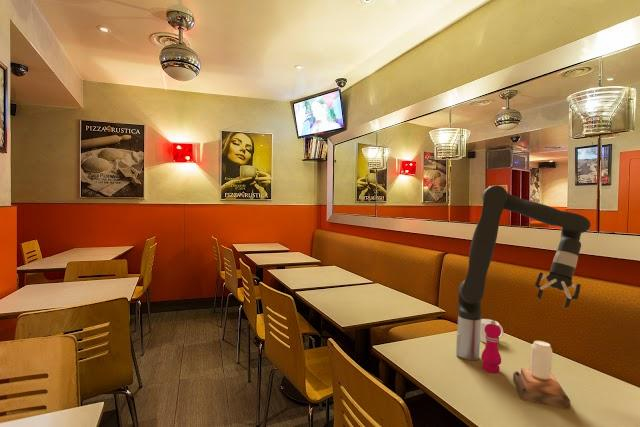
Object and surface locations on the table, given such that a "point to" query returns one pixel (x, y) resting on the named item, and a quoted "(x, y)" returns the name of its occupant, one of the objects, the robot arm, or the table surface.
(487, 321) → the mug
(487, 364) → the pepper mill
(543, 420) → the table surface
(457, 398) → the table surface
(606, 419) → the table surface
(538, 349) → the beverage can
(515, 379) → the brick plinth
